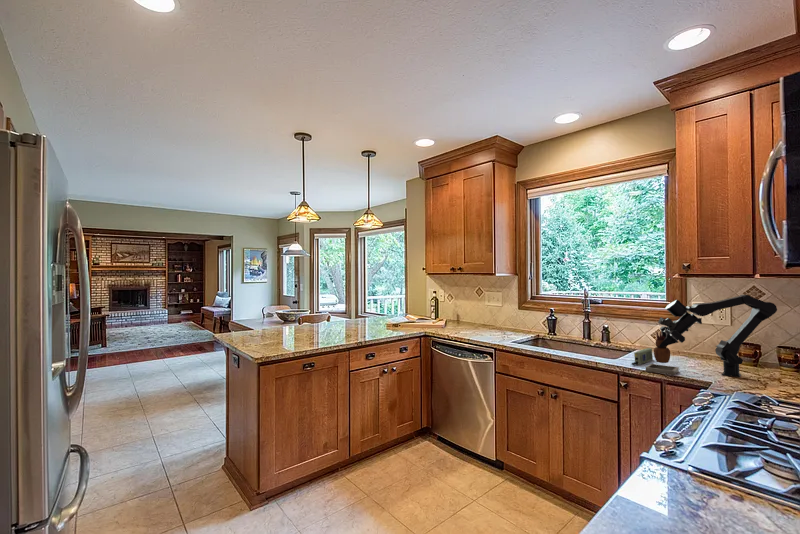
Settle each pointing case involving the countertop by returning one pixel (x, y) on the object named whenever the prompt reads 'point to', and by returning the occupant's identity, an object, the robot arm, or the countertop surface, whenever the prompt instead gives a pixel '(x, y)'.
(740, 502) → the countertop surface
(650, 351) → the handheld radio
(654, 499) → the countertop surface
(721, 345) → the robot arm
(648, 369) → the grey shallow tray
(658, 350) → the wooden figurine
